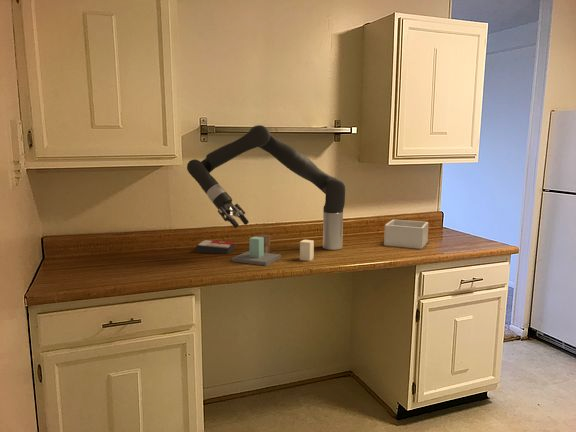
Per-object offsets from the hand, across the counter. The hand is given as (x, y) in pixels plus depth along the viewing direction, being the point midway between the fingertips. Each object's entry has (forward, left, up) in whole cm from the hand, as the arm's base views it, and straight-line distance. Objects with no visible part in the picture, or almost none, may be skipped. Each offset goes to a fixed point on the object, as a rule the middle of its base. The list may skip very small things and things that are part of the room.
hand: (242, 225), depth 202 cm
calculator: (-7, -18, -15) cm, 25 cm away
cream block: (-10, +26, -15) cm, 31 cm away
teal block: (0, +7, -13) cm, 15 cm away
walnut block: (-12, +4, -15) cm, 19 cm away
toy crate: (-60, +59, -14) cm, 85 cm away
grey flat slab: (0, +7, -14) cm, 16 cm away
